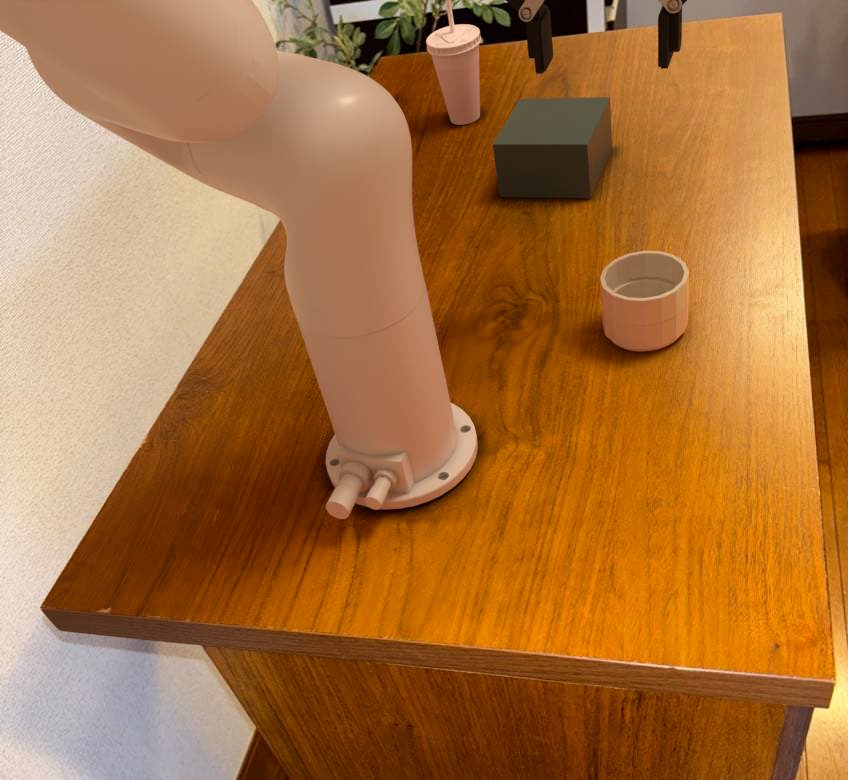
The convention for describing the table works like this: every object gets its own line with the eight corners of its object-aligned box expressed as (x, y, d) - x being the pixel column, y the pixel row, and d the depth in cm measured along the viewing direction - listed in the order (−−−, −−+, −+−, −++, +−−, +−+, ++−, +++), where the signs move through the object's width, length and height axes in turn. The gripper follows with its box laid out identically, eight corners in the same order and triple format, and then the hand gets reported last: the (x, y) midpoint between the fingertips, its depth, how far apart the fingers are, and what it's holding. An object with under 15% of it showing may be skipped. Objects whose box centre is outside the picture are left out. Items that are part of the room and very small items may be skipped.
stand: (590, 199, 102) (587, 144, 98) (499, 197, 106) (492, 144, 101) (612, 150, 108) (610, 96, 104) (525, 150, 112) (519, 98, 107)
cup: (678, 357, 83) (679, 302, 79) (595, 350, 86) (591, 297, 82) (694, 306, 87) (695, 252, 83) (613, 301, 90) (611, 249, 86)
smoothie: (492, 101, 121) (476, -20, 111) (489, 126, 117) (473, 2, 107) (441, 108, 123) (421, -11, 112) (437, 133, 118) (415, 11, 108)
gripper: (453, -166, 66) (486, 89, 78) (720, -200, 60) (710, 81, 72) (484, -198, 70) (511, 48, 83) (735, -233, 64) (723, 37, 77)
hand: (604, 63), depth 77 cm, fingers open, 9 cm apart
